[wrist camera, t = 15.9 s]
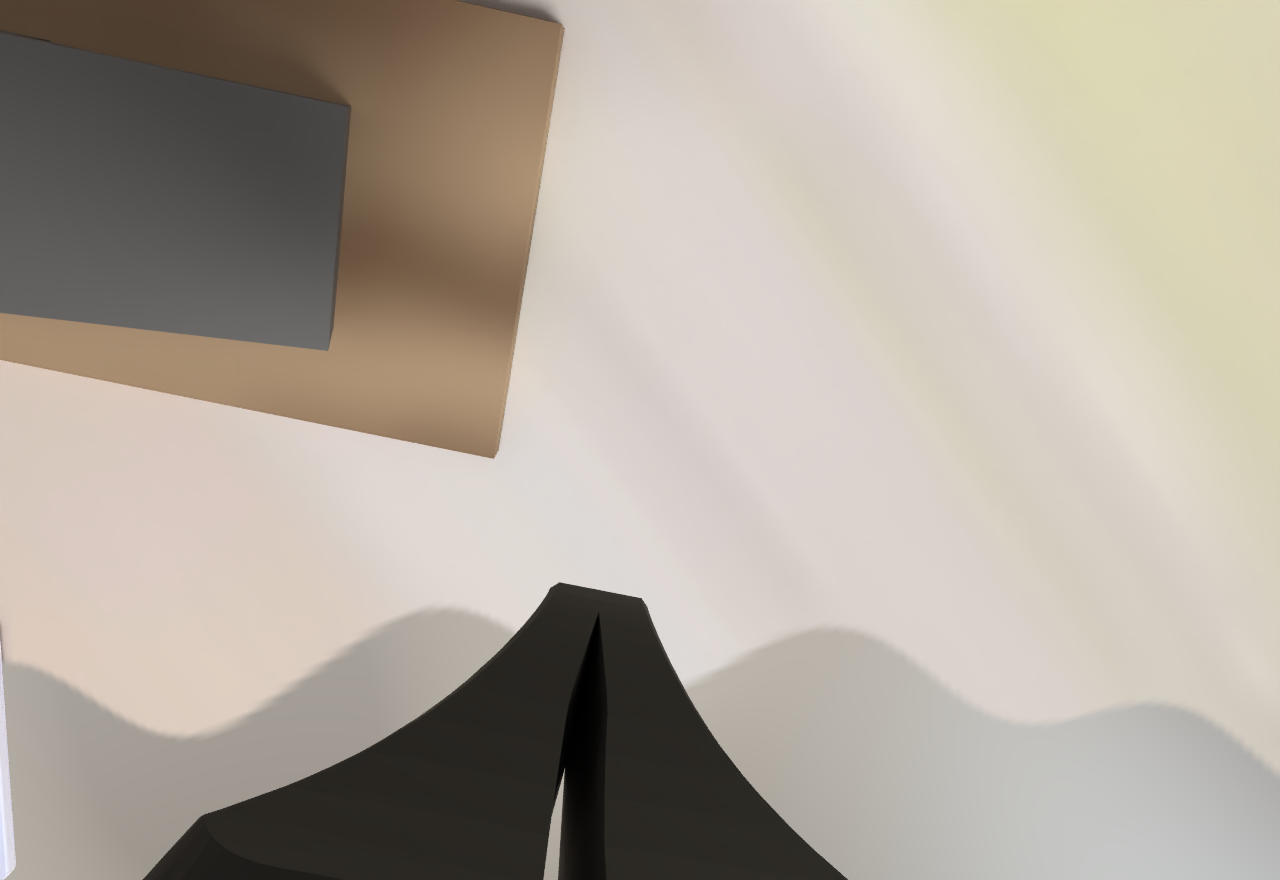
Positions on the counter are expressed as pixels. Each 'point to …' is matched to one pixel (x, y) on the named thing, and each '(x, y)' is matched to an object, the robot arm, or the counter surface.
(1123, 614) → the counter surface
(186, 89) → the domino
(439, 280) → the board
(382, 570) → the counter surface
